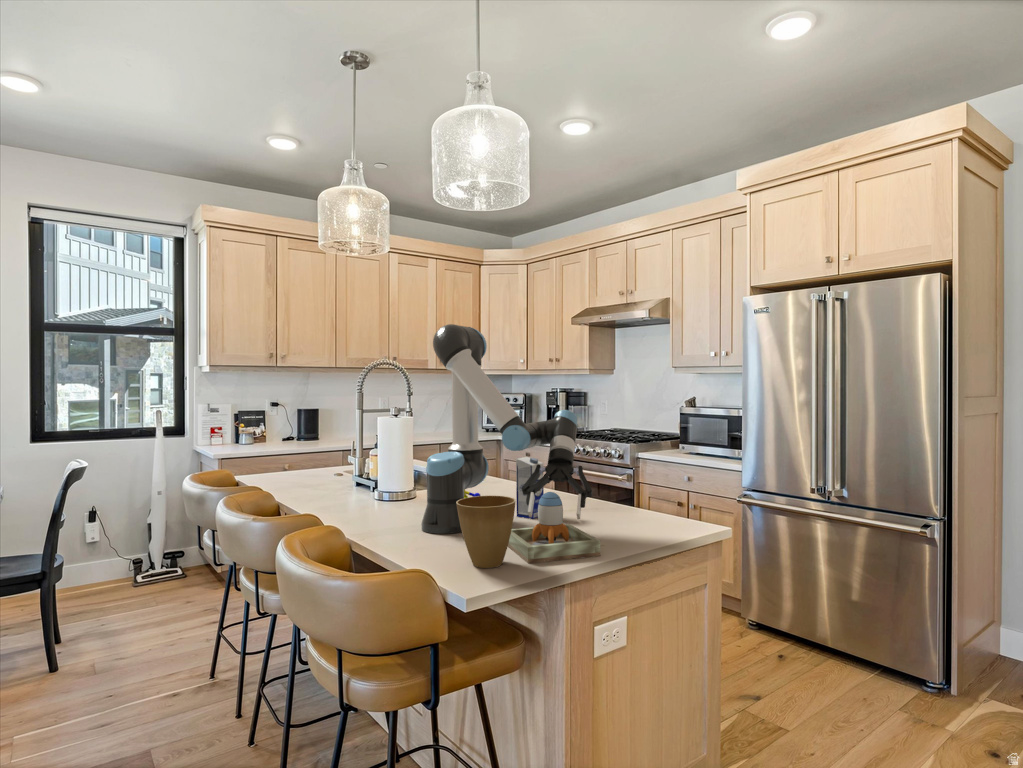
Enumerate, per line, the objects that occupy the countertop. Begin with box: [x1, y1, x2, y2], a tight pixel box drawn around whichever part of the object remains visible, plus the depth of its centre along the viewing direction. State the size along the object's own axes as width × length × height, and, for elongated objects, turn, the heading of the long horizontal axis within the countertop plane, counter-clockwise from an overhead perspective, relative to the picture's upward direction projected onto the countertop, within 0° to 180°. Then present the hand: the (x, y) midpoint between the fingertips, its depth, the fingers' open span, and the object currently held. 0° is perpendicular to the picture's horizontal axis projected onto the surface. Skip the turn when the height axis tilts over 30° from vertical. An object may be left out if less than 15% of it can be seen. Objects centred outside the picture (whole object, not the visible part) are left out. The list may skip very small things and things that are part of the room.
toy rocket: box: [532, 491, 569, 544], centre depth 164 cm, size 10×11×15 cm
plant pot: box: [456, 495, 517, 569], centre depth 152 cm, size 15×15×16 cm
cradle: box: [507, 523, 601, 564], centre depth 164 cm, size 20×20×4 cm
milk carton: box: [515, 456, 545, 520], centre depth 207 cm, size 7×7×20 cm
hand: (553, 515), depth 167 cm, fingers open, 13 cm apart
